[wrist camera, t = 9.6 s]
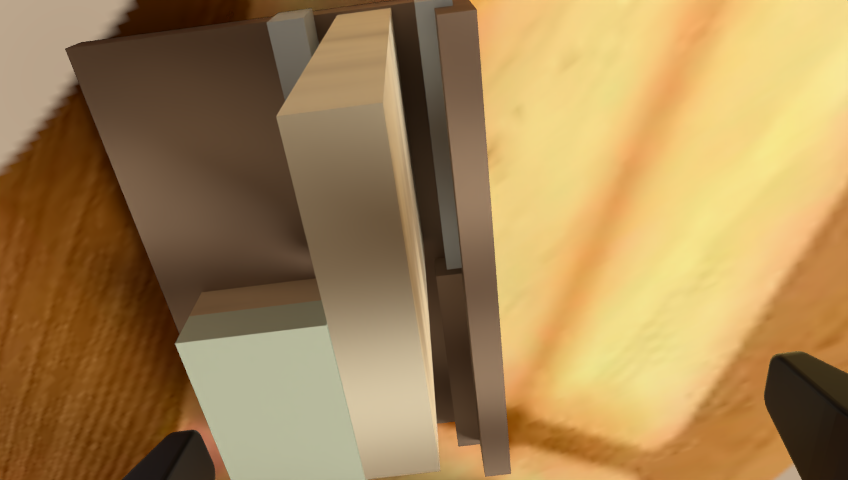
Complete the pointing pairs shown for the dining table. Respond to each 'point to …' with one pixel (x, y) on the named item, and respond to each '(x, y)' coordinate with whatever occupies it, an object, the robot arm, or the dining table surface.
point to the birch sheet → (366, 238)
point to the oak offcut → (257, 297)
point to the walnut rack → (272, 184)
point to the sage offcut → (272, 392)
